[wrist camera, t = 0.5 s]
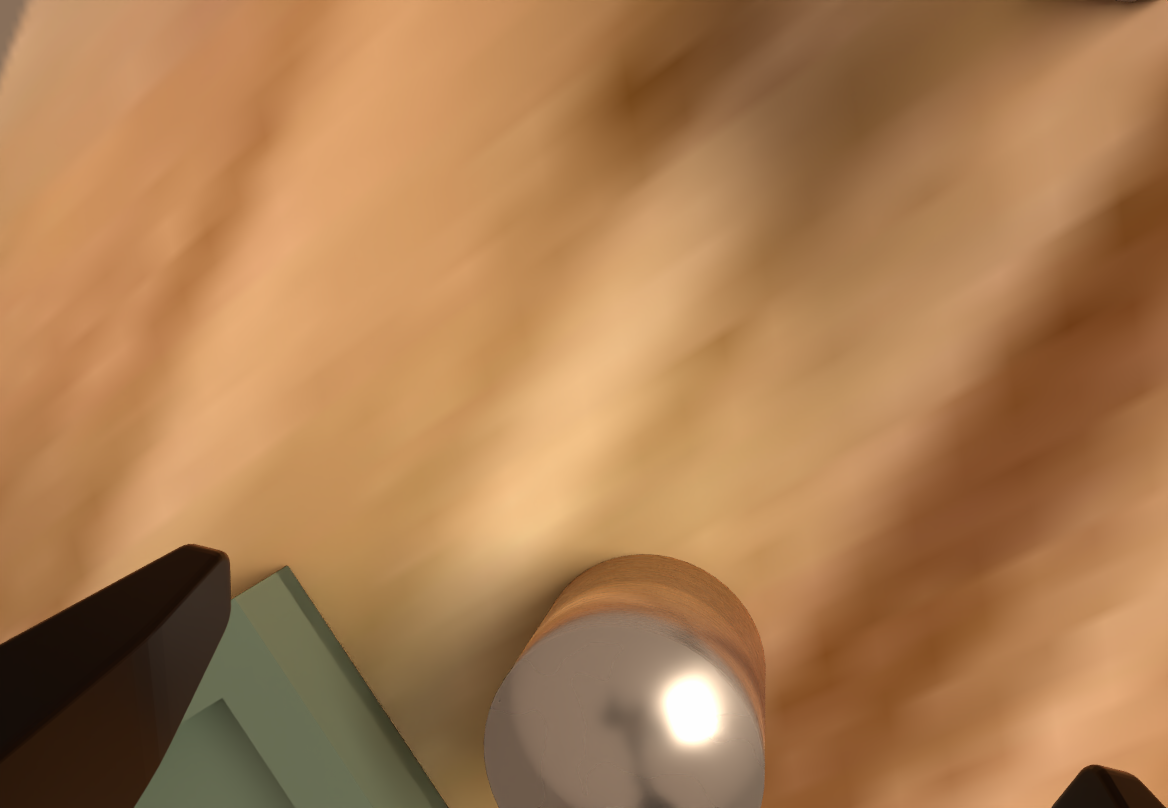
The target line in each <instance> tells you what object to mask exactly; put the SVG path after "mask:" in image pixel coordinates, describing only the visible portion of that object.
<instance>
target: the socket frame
mask: <svg viewBox="0 0 1168 808" xmlns="http://www.w3.org/2000/svg"><path fill="white" fill-rule="evenodd" d="M134 808H448V807H447V805H446V804H445V802H444V801H443V799H442V798H441V796H440V795H439V793H438V792H437V790H436V789H435V787H434V786H433V784H432V783H431V781H430V779H429V778H428V776H427V775H426V773H425V772H424V770H423V769H422V767H421V766H420V764H419V763H418V761H417V760H416V758H415V757H414V755H413V754H412V752H411V751H410V749H409V748H408V746H407V745H406V743H405V742H404V740H403V739H402V737H401V736H400V734H399V733H398V731H397V730H396V728H395V727H394V725H393V724H392V722H391V721H390V719H389V718H388V716H387V715H386V713H385V712H384V710H383V709H382V707H381V705H380V704H379V702H378V701H377V699H376V698H375V696H374V695H373V693H372V692H371V690H370V689H369V687H368V686H367V684H366V683H365V681H364V680H363V678H362V677H361V675H360V674H359V672H358V671H357V669H356V668H355V666H354V665H353V663H352V662H351V660H350V659H349V657H348V656H347V654H346V653H345V651H344V650H343V648H342V647H341V645H340V644H339V642H338V641H337V639H336V638H335V636H334V634H333V633H332V631H331V630H330V628H329V627H328V625H327V624H326V622H325V621H324V619H323V618H322V616H321V615H320V613H319V612H318V610H317V609H316V607H315V606H314V604H313V603H312V601H311V600H310V598H309V597H308V595H307V594H306V592H305V591H304V589H303V588H302V586H301V585H300V583H299V582H298V580H297V579H296V577H295V576H294V574H293V573H292V571H291V570H290V568H289V567H288V566H286V567H284V568H283V569H281V570H279V571H278V572H276V573H274V574H273V575H271V576H269V577H268V578H266V579H265V580H263V581H261V582H260V583H258V584H256V585H255V586H253V587H251V588H250V589H248V590H246V591H245V592H243V593H242V594H240V595H238V596H237V597H235V598H233V599H232V600H231V613H230V618H229V622H228V624H227V627H226V630H225V632H224V634H223V636H222V638H221V640H220V643H219V645H218V647H217V649H216V651H215V653H214V655H213V657H212V659H211V661H210V663H209V665H208V667H207V670H206V672H205V674H204V676H203V678H202V680H201V682H200V684H199V686H198V688H197V690H196V692H195V695H194V697H193V699H192V701H191V703H190V705H189V707H188V709H187V711H186V713H185V715H184V717H183V719H182V722H181V724H180V726H179V728H178V730H177V732H176V734H175V736H174V738H173V740H172V742H171V744H170V746H169V748H168V750H167V752H166V754H165V756H164V758H163V760H162V762H161V764H160V766H159V767H158V769H157V771H156V773H155V774H154V776H153V778H152V779H151V781H150V783H149V785H148V786H147V788H146V790H145V791H144V793H143V794H142V796H141V798H140V799H139V801H138V802H137V804H136V806H135V807H134Z"/></svg>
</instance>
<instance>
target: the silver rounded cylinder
mask: <svg viewBox="0 0 1168 808" xmlns="http://www.w3.org/2000/svg"><path fill="white" fill-rule="evenodd" d="M484 759H485V765H486V772H487V776H488V780H489V783H490V787H491V790H492V793H493V795H494V797H495V800H496V802H497V804H498V807H499V808H760V807H761V803H762V797H763V791H764V770H765V658H764V650H763V646H762V643H761V639H760V636H759V633H758V631H757V628H756V626H755V623H754V622H753V620H752V618H751V616H750V615H749V613H748V611H747V609H746V608H745V607H744V605H743V604H742V603H741V601H740V600H739V599H738V598H737V597H736V596H735V594H734V593H733V592H732V591H731V590H730V589H729V588H728V587H727V586H725V585H724V584H723V583H722V582H720V581H719V580H718V579H717V578H715V577H714V576H712V575H711V574H709V573H707V572H706V571H704V570H703V569H701V568H699V567H696V566H694V565H692V564H690V563H688V562H684V561H681V560H678V559H675V558H671V557H665V556H660V555H647V554H640V555H628V556H623V557H618V558H613V559H611V560H608V561H605V562H602V563H600V564H598V565H596V566H594V567H592V568H590V569H588V570H586V571H585V572H583V573H582V574H581V575H579V576H578V577H576V578H575V579H574V580H573V581H572V582H571V583H570V584H569V585H568V586H567V587H566V588H565V589H564V590H563V592H562V593H561V594H560V595H559V597H558V598H557V600H556V601H555V603H554V604H553V606H552V607H551V609H550V610H549V612H548V613H547V615H546V616H545V618H544V619H543V621H542V623H541V624H540V626H539V627H538V629H537V630H536V632H535V633H534V635H533V636H532V638H531V639H530V641H529V642H528V644H527V646H526V647H525V649H524V650H523V652H522V653H521V655H520V656H519V658H518V659H517V661H516V662H515V664H514V666H513V667H512V669H511V670H510V672H509V673H508V675H507V676H506V678H505V679H504V681H503V683H502V684H501V686H500V688H499V689H498V691H497V693H496V695H495V697H494V700H493V702H492V704H491V707H490V710H489V714H488V718H487V722H486V727H485V736H484Z"/></svg>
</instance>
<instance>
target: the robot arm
mask: <svg viewBox="0 0 1168 808" xmlns="http://www.w3.org/2000/svg"><path fill="white" fill-rule="evenodd" d="M230 613H231V583H230V561H229V557H228V555H227V554H226V553H225V552H223V551H220V550H216V549H212V548H208V547H204V546H200V545H196V544H187V545H184V546H181V547H179V548H177V549H175V550H174V551H172V552H170V553H168V554H166V555H164V556H163V557H161V558H159V559H157V560H155V561H153V562H151V563H150V564H148V565H146V566H144V567H142V568H140V569H139V570H137V571H135V572H133V573H131V574H129V575H127V576H126V577H124V578H122V579H120V580H118V581H116V582H115V583H113V584H111V585H109V586H107V587H105V588H104V589H102V590H100V591H98V592H96V593H94V594H92V595H91V596H89V597H87V598H85V599H83V600H81V601H80V602H78V603H76V604H74V605H72V606H70V607H68V608H67V609H65V610H63V611H61V612H59V613H57V614H56V615H54V616H52V617H50V618H48V619H46V620H44V621H43V622H41V623H39V624H37V625H35V626H33V627H32V628H30V629H28V630H26V631H24V632H22V633H21V634H19V635H17V636H15V637H13V638H11V639H9V640H8V641H6V642H4V643H2V644H0V808H134V807H135V806H136V804H137V802H138V801H139V799H140V798H141V796H142V794H143V793H144V791H145V790H146V788H147V786H148V785H149V783H150V781H151V779H152V778H153V776H154V774H155V773H156V771H157V769H158V767H159V766H160V764H161V762H162V760H163V758H164V756H165V754H166V752H167V750H168V748H169V746H170V744H171V742H172V740H173V738H174V736H175V734H176V732H177V730H178V728H179V726H180V724H181V722H182V719H183V717H184V715H185V713H186V711H187V709H188V707H189V705H190V703H191V701H192V699H193V697H194V695H195V692H196V690H197V688H198V686H199V684H200V682H201V680H202V678H203V676H204V674H205V672H206V670H207V667H208V665H209V663H210V661H211V659H212V657H213V655H214V653H215V651H216V649H217V647H218V645H219V643H220V640H221V638H222V636H223V634H224V632H225V630H226V627H227V624H228V622H229V618H230ZM1052 808H1166V807H1165V806H1164V805H1163V804H1162V803H1161V802H1160V801H1159V800H1158V799H1157V798H1156V797H1155V796H1154V795H1153V794H1152V793H1151V791H1150V790H1149V789H1148V788H1147V787H1146V786H1145V785H1144V784H1143V783H1142V782H1141V781H1140V780H1139V779H1138V778H1137V777H1135V776H1134V775H1132V774H1130V773H1128V772H1124V771H1120V770H1116V769H1112V768H1108V767H1104V766H1100V765H1090V766H1087V767H1085V768H1083V769H1082V770H1081V771H1080V773H1079V774H1078V775H1077V776H1076V778H1075V779H1074V780H1073V781H1072V782H1071V784H1070V785H1069V786H1068V787H1067V789H1066V790H1065V791H1064V792H1063V794H1062V795H1061V796H1060V797H1059V799H1058V800H1057V801H1056V802H1055V803H1054V805H1053V806H1052Z"/></svg>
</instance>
